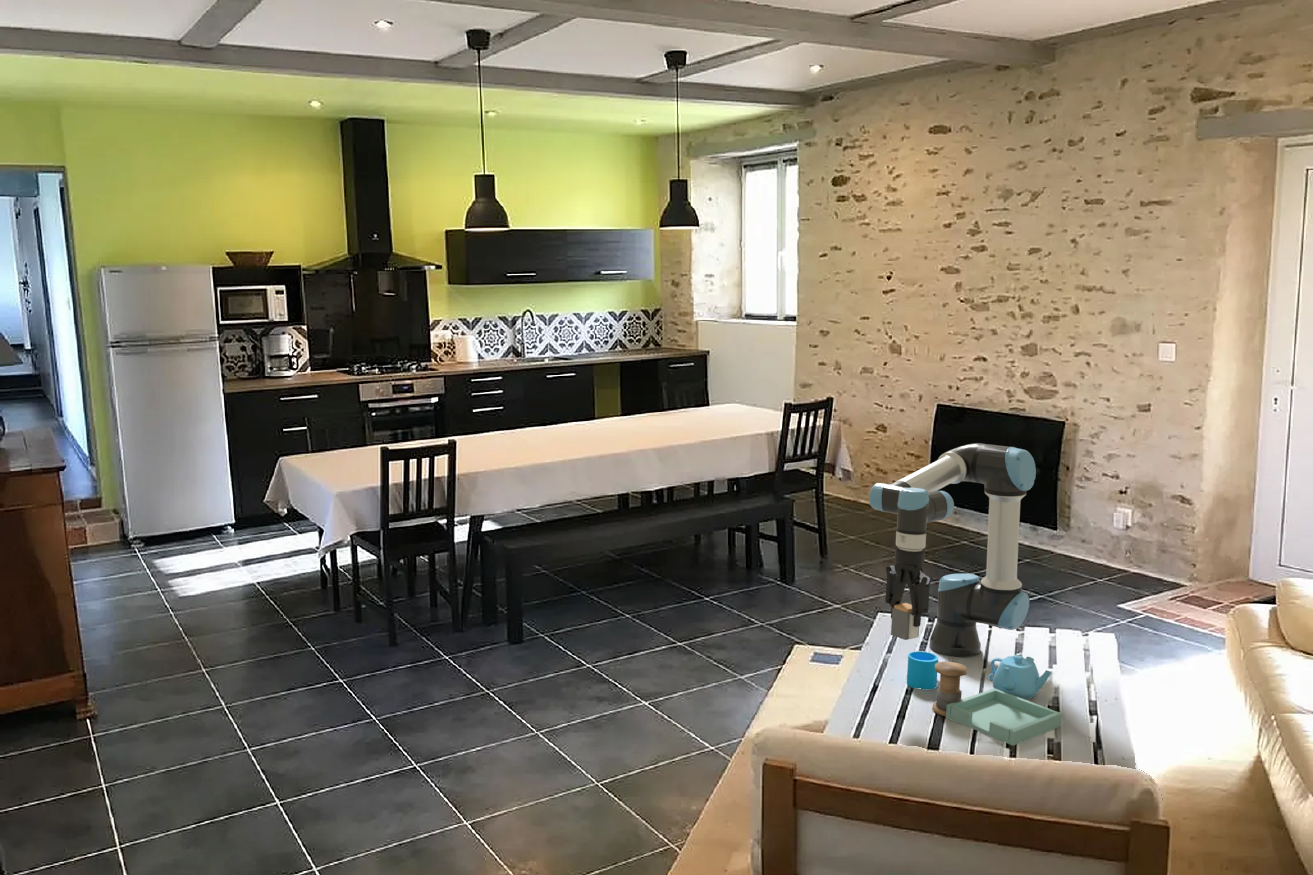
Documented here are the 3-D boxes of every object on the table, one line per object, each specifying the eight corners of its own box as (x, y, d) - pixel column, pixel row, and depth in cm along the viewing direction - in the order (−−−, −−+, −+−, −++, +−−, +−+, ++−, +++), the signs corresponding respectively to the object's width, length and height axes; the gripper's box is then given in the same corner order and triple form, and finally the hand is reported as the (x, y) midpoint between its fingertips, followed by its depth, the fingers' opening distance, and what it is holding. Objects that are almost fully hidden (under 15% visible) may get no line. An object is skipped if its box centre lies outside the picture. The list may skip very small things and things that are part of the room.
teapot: (1052, 707, 278) (1055, 666, 276) (1001, 707, 278) (1004, 666, 276) (1030, 685, 293) (1033, 646, 292) (981, 685, 293) (984, 646, 291)
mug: (927, 692, 287) (929, 663, 286) (901, 684, 292) (902, 656, 291) (948, 681, 296) (950, 653, 294) (922, 673, 301) (924, 646, 300)
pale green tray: (993, 700, 282) (994, 688, 281) (1060, 726, 266) (1061, 713, 266) (946, 717, 270) (946, 704, 270) (1013, 745, 254) (1014, 732, 254)
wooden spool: (945, 702, 280) (948, 659, 278) (970, 712, 274) (973, 668, 272) (925, 709, 275) (928, 665, 273) (950, 719, 269) (953, 674, 267)
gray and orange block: (903, 631, 278) (905, 602, 277) (918, 636, 274) (920, 607, 273) (890, 634, 275) (892, 605, 274) (905, 640, 271) (907, 610, 270)
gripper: (874, 542, 276) (868, 627, 279) (928, 557, 261) (922, 647, 265) (893, 539, 280) (888, 623, 283) (947, 553, 266) (941, 642, 269)
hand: (904, 634), depth 274 cm, fingers closed on gray and orange block, 5 cm apart
